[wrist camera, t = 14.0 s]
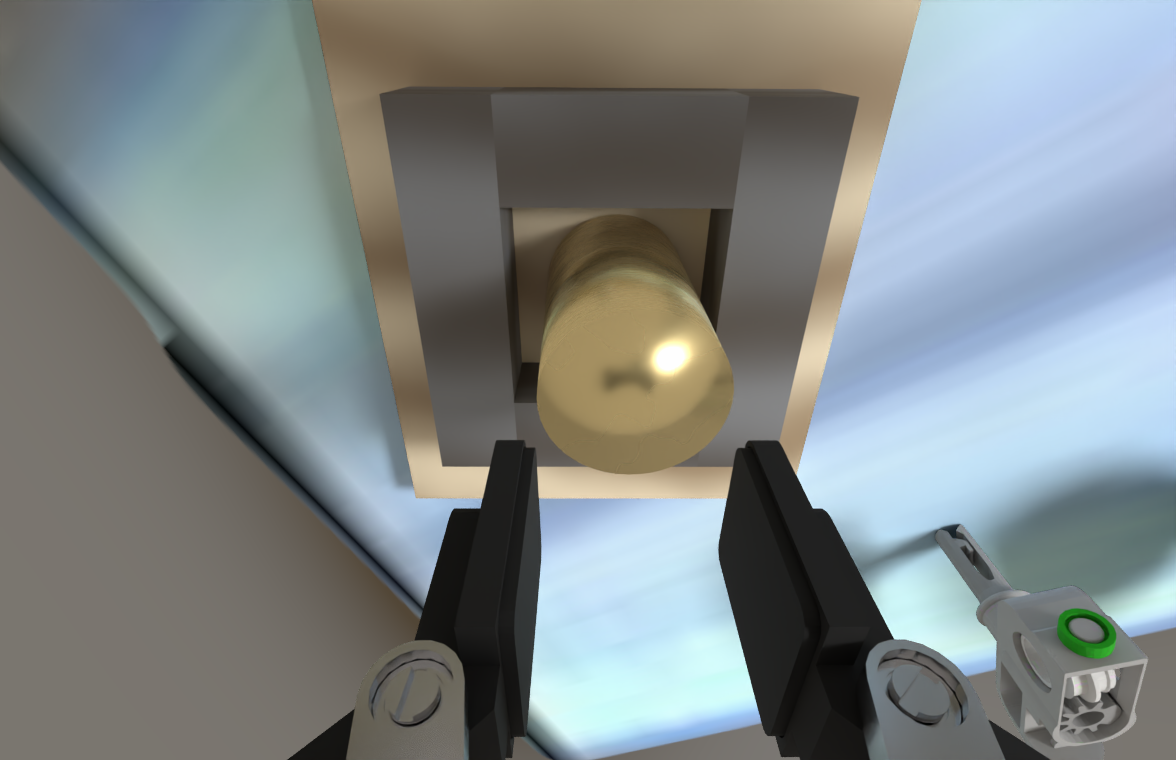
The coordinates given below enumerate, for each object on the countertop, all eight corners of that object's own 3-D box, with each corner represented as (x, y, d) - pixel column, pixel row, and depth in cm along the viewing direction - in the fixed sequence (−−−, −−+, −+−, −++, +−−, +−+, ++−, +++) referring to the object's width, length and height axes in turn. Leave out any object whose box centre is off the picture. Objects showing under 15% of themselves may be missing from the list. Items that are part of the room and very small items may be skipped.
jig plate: (313, -90, 16) (230, -130, 13) (918, -84, 17) (1019, -122, 13) (423, 477, 28) (398, 546, 24) (780, 477, 28) (812, 546, 24)
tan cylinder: (548, 211, 19) (535, 307, 13) (689, 216, 20) (751, 312, 13) (548, 338, 22) (537, 473, 15) (672, 341, 22) (716, 475, 15)
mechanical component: (926, 597, 33) (1045, 790, 24) (916, 473, 28) (1062, 663, 19) (979, 585, 32) (1120, 779, 24) (978, 457, 27) (1157, 644, 19)
